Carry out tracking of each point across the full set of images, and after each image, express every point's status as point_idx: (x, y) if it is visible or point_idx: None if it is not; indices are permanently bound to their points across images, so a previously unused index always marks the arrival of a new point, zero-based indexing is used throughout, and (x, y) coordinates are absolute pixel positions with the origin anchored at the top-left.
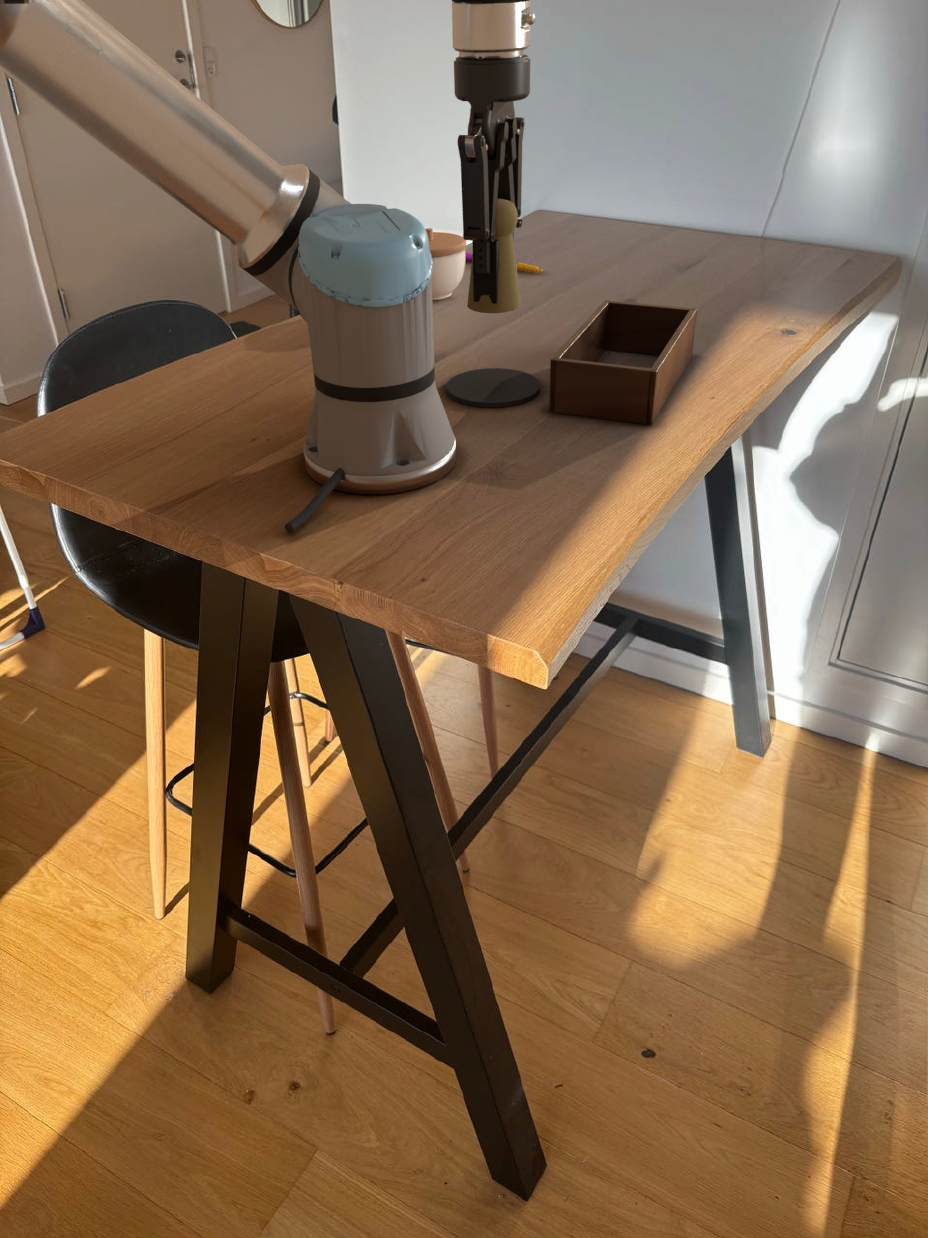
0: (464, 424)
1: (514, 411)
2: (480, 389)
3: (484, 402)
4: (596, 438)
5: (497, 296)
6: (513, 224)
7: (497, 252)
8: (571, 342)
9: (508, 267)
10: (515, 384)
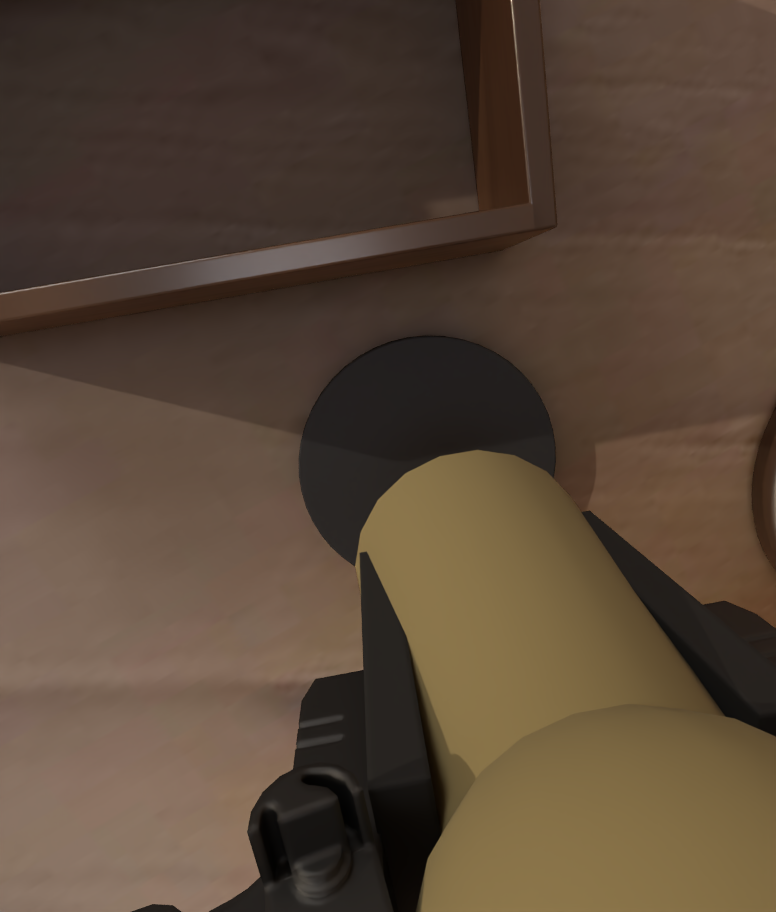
0: (661, 410)
1: (536, 339)
2: None
3: (550, 424)
4: (619, 30)
5: (594, 523)
6: (717, 739)
7: (727, 647)
8: (352, 239)
9: (585, 556)
10: (398, 415)
